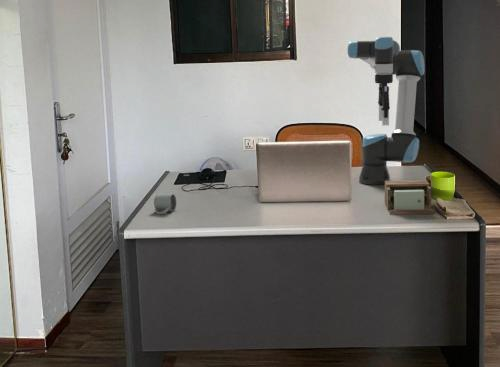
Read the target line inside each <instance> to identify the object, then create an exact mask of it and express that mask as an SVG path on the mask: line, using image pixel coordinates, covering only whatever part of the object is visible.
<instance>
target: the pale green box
mask: <svg viewBox="0 0 500 367" xmlns="http://www.w3.org/2000/svg"><path fill="white" fill-rule="evenodd" d="M394 210H424V190H394Z"/></svg>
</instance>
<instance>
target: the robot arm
mask: <svg viewBox="0 0 500 367" xmlns="http://www.w3.org/2000/svg"><path fill="white" fill-rule="evenodd" d="M347 55H348V58H350V59H355V60H356V59H359V60H362V61H363V62H365V63H367V64H368V65H369V66H370V67H371V69H372V70H374V73H375V75H374V83H375V84H378V101H377V103H378V121H379V122H381V121H382V123H381V125H382V126H390V109H391V108H390V92H389V91H390V86H388V84H392V83H393V82H394V75H395V78H396V80H397V81H398V87H397V101H396V102H397V103H396V114H395V128H394V130H393V131H392V132H391V136H390V137H388V135H387V134H386V133H376V134H374V133H373V134H370V135H367V136H364V137H363V138H362V146H361V148H362V153H361V154H362V166H361V169H360V173H359V176H358V182H359V183H361V184H363V185H371V186H373V185H375V186H376V185H385V181H391V176H390V172H389V170H388V165H387V162H395V163H413V162H414V161H415V160H416V159H417V157H418V154H419V148H420V139H419V138H418V137H417V134H416V132H414V126H415V124H414V123H415V122H414V121H415V111H416V109H415V108H416V98H417V97H416V96H417V87H418V86H417V84H418V82H419V81H420V80H421V76H423V75H424V74H425V71H426V70H425V66H426V65H425V58H424V55H423V52H422V51H421V50H414V49H408V50H405V49H404V50H401V46H400V44H399V43H398V42H397V41H396V40H394V39H393V37H392V36H379V37H376V38H375V39H374V40H354V41H349V42H348V44H347Z"/></svg>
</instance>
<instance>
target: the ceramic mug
mask: <svg viewBox="0 0 500 367" xmlns="http://www.w3.org/2000/svg"><path fill="white" fill-rule="evenodd" d="M153 206H154V212H155V213H156V214H157V215H165V214H167V213H168V212H175V211H176V208H177V197H176V195H175V193H165V194H164V193H163V194H157V195H155V197H154V199H153Z"/></svg>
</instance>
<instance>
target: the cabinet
mask: <svg viewBox="0 0 500 367" xmlns="http://www.w3.org/2000/svg"><path fill="white" fill-rule="evenodd" d="M394 190H424V210H394ZM384 206H385V207H386V209H387V211H389V215H419V214H420V215H421V214H423V215H424V214H427V215H428V214H434V213H435V209H432V188H431V186H430V182H429V181H428V179H416V180H413V179H411V180H409V179H408V180H390V181H385V184H384Z"/></svg>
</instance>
